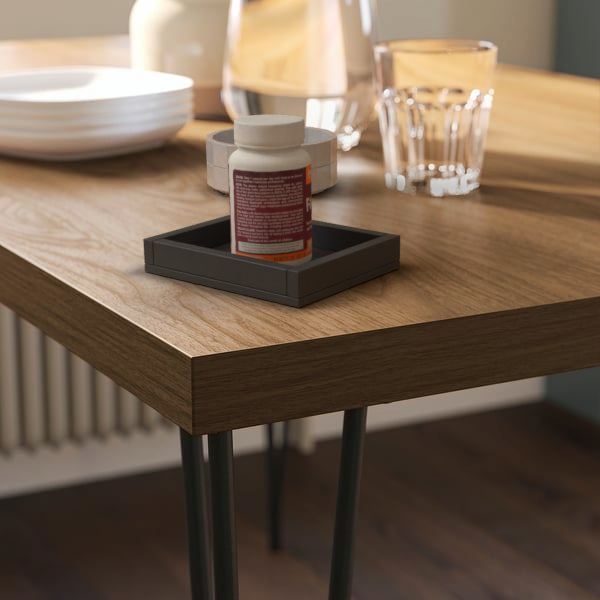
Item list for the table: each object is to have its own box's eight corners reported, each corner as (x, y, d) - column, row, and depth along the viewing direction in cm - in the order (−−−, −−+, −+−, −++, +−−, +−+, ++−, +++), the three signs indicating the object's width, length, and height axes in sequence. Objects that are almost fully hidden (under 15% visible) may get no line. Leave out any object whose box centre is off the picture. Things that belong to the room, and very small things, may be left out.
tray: (400, 268, 69) (400, 235, 69) (298, 308, 62) (298, 271, 62) (251, 238, 76) (250, 208, 76) (144, 271, 69) (142, 238, 69)
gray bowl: (362, 183, 92) (362, 132, 91) (280, 207, 85) (280, 152, 84) (265, 168, 98) (264, 121, 97) (180, 189, 91) (178, 138, 90)
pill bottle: (325, 266, 68) (325, 121, 65) (249, 276, 66) (245, 127, 64) (292, 247, 72) (291, 110, 70) (219, 256, 70) (215, 116, 68)
